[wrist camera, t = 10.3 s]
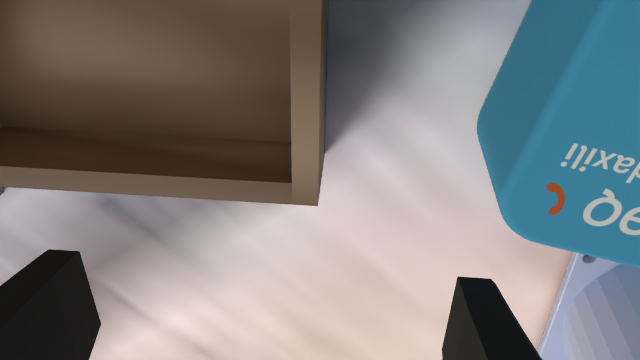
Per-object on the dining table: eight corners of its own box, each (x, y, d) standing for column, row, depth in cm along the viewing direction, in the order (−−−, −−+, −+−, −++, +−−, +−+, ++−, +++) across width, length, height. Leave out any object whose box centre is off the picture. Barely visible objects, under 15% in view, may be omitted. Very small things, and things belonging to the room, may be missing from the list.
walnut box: (324, 154, 20) (317, 206, 18) (-3, 136, 21) (-54, 183, 18) (334, -227, 14) (325, -231, 11) (-135, -237, 14) (-239, -242, 12)
